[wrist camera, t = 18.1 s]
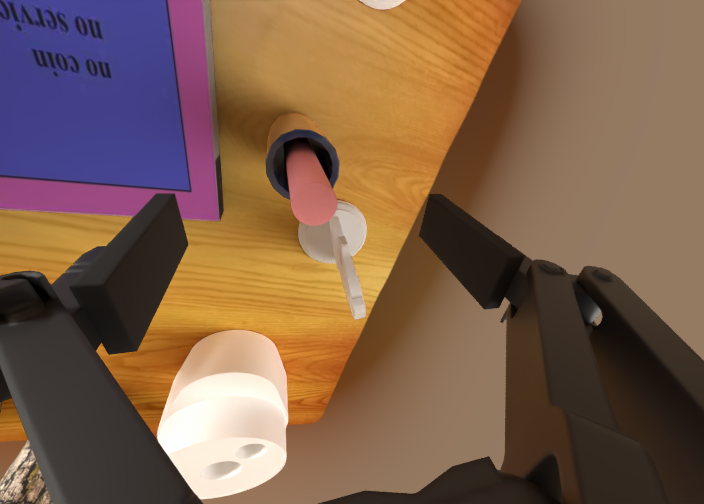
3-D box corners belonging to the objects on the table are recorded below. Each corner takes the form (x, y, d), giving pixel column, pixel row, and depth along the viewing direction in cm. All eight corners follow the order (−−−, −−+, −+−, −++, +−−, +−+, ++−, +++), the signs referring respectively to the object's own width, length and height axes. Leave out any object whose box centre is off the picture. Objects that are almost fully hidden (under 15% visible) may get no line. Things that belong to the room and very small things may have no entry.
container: (298, 330, 48) (305, 407, 37) (279, 410, 60) (280, 487, 49) (167, 329, 42) (128, 422, 31) (175, 419, 54) (148, 510, 42)
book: (185, -234, 16) (219, 221, 31) (197, -194, 19) (223, 210, 34) (-449, -534, 10) (-29, 207, 25) (-310, -417, 13) (-3, 196, 28)
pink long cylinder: (283, 128, 30) (290, 182, 16) (308, 130, 31) (338, 183, 16) (283, 155, 32) (291, 226, 17) (308, 156, 32) (336, 225, 18)
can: (266, 110, 29) (263, 127, 20) (322, 114, 31) (341, 131, 22) (270, 166, 33) (268, 202, 24) (320, 168, 34) (337, 202, 25)
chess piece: (363, 193, 37) (406, 252, 25) (367, 252, 43) (405, 325, 30) (290, 206, 36) (299, 276, 24) (305, 266, 41) (317, 347, 29)
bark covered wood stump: (63, 383, 43) (-131, 666, 22) (115, 390, 46) (-12, 643, 26) (53, 407, 45) (-132, 686, 25) (103, 412, 48) (-23, 662, 28)
